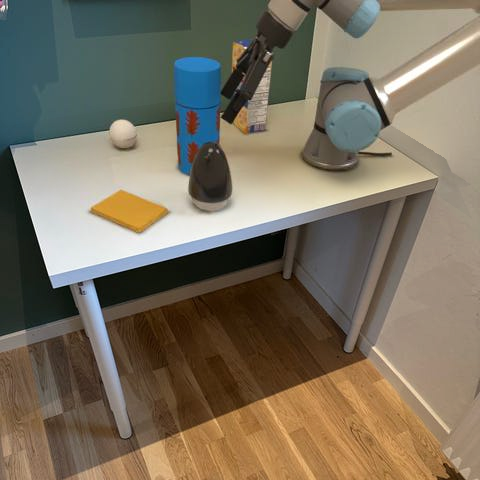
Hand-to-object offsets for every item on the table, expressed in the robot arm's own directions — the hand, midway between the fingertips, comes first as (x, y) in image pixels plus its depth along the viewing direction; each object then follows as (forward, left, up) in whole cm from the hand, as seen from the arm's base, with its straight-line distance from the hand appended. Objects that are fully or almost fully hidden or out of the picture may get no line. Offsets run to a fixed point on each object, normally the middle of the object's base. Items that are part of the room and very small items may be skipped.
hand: (225, 108), depth 109 cm
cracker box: (-3, -33, -17) cm, 38 cm away
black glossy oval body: (+1, +15, -17) cm, 23 cm away
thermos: (+7, -3, -17) cm, 19 cm away
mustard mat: (+19, +21, -17) cm, 33 cm away
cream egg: (+28, -11, -17) cm, 35 cm away
